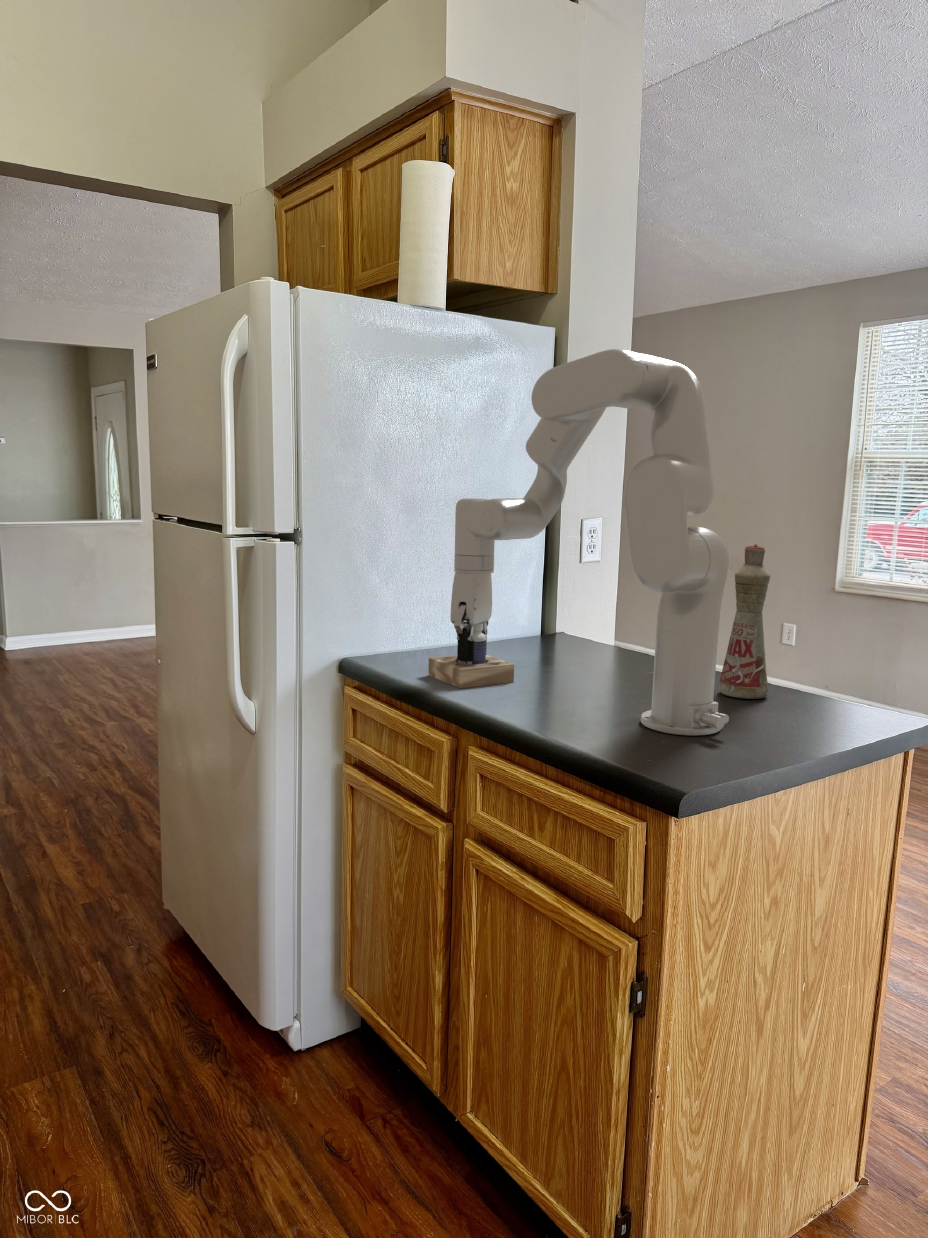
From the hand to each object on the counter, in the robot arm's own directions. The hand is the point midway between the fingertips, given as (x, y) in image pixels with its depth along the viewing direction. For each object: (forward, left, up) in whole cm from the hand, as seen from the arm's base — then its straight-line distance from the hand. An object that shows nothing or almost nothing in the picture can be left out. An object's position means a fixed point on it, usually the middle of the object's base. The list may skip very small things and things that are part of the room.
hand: (471, 657), depth 170 cm
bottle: (-33, -39, -5) cm, 51 cm away
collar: (0, 0, -4) cm, 4 cm away
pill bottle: (0, 0, -3) cm, 3 cm away
